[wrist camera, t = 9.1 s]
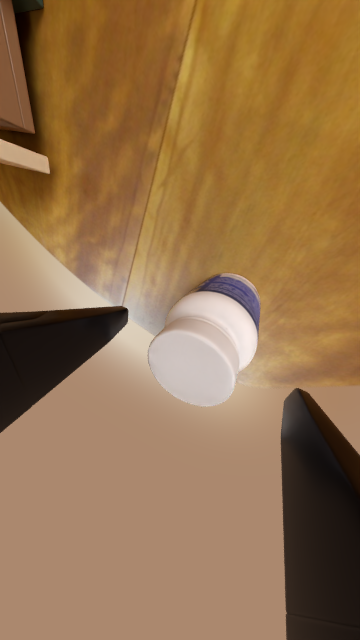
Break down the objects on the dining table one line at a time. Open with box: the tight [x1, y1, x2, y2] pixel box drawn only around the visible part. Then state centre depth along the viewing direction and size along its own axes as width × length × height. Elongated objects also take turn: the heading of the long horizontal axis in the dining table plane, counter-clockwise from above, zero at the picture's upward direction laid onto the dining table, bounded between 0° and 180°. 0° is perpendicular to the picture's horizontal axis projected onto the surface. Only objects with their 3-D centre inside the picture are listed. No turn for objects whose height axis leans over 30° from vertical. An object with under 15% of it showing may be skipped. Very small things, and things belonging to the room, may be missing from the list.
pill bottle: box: [148, 273, 260, 407], centre depth 10 cm, size 5×5×9 cm
